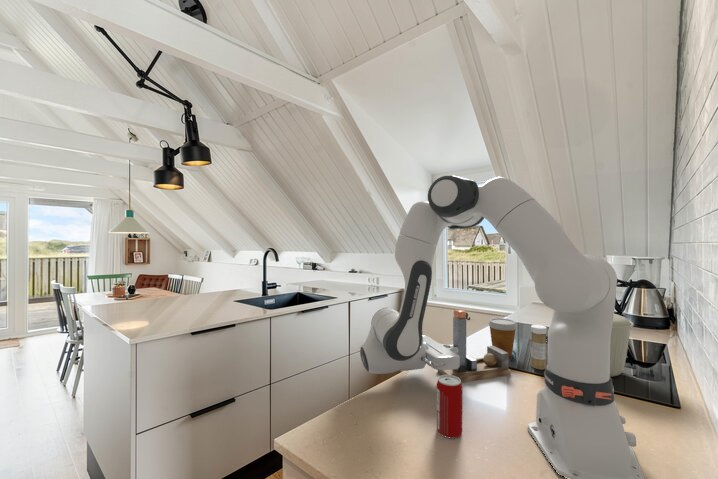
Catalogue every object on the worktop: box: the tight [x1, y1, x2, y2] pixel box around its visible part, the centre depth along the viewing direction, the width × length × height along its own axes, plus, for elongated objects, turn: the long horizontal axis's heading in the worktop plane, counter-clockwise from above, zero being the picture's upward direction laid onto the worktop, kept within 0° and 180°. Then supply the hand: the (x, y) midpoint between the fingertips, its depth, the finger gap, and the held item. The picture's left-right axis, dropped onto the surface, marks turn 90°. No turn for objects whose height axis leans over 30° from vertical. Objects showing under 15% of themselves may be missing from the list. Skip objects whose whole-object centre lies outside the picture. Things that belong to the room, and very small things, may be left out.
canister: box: [610, 313, 635, 378], centre depth 105 cm, size 18×18×21 cm
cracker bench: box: [437, 345, 512, 383], centre depth 103 cm, size 20×9×6 cm, turn 106°
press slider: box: [452, 309, 477, 372], centre depth 102 cm, size 6×6×18 cm
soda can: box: [436, 374, 463, 439], centre depth 73 cm, size 6×6×12 cm
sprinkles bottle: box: [530, 324, 548, 370], centre depth 108 cm, size 5×5×13 cm
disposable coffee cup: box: [488, 317, 518, 358], centre depth 119 cm, size 10×10×12 cm
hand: (455, 348), depth 101 cm, fingers closed, pressing on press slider
